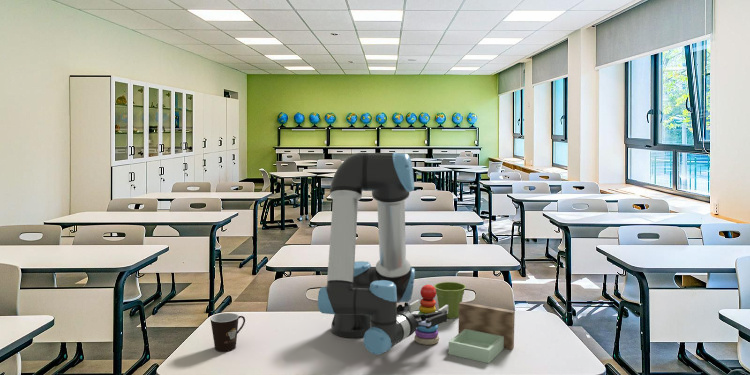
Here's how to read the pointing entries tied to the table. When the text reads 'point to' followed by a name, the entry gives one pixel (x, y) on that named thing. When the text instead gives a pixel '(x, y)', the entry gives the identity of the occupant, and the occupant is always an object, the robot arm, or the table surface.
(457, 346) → the mint green square tray
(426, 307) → the stacking toy
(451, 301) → the plant pot
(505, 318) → the backstop wall
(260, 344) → the table surface
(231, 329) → the coffee mug
